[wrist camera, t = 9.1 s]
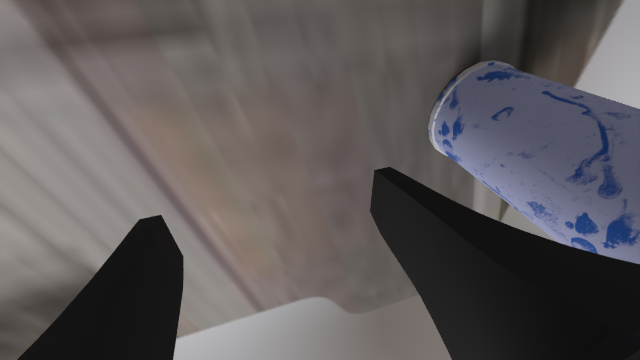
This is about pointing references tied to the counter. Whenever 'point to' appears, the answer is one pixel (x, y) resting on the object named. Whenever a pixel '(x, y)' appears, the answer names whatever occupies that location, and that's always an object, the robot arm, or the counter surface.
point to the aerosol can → (547, 154)
